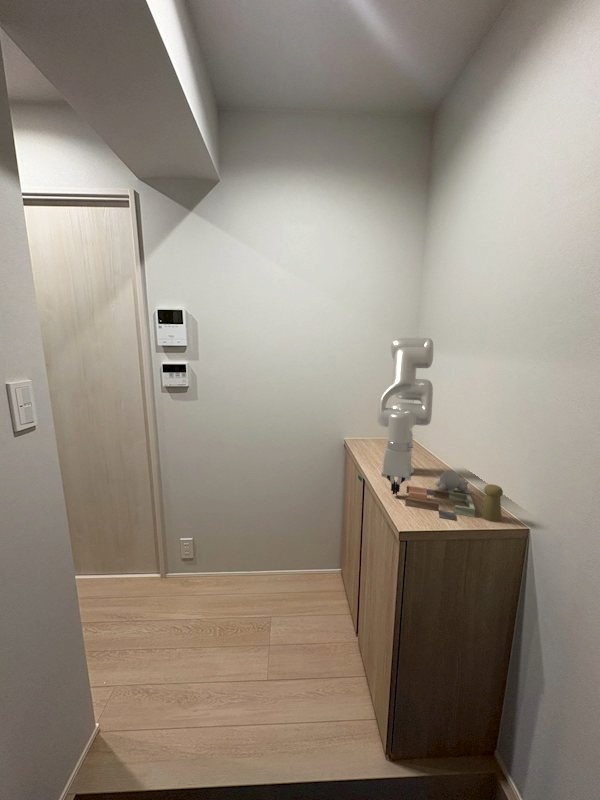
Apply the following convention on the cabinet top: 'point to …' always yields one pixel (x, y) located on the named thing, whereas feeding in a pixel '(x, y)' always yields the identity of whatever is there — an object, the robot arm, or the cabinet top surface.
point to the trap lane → (446, 495)
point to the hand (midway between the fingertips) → (395, 493)
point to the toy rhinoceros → (452, 482)
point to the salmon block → (418, 493)
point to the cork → (492, 503)
